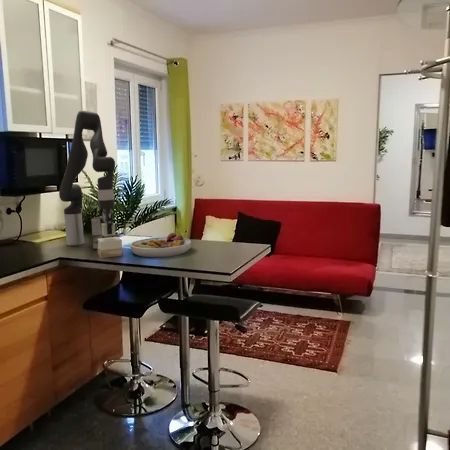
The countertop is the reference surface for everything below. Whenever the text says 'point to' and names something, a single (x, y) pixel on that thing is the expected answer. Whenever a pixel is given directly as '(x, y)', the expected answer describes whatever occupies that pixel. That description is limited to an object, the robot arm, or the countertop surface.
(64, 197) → the robot arm
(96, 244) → the coffee box
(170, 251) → the bowl
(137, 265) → the countertop surface
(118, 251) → the tower base
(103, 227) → the sage cube
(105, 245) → the tower top
